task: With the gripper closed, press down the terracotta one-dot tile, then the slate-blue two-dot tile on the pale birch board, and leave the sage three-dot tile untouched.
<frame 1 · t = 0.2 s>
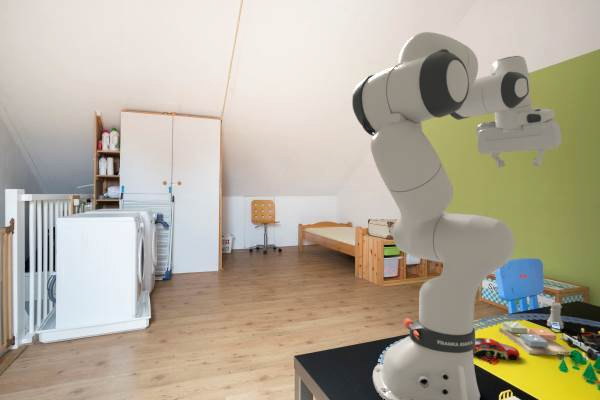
hand: (518, 166, 95), 52 cm above the table, tool tilted 20°, fingers open, 8 cm apart
sage tile: (514, 327, 101), point 3 cm above the table, slide at 0.0 cm
birch board: (532, 342, 97), on the table
slate tile: (533, 340, 92), point 3 cm above the table, slide at 0.0 cm
terracotta tile: (542, 334, 97), point 3 cm above the table, slide at 0.0 cm
rook chess piece: (555, 327, 108), on the table
race car: (491, 356, 89), on the table
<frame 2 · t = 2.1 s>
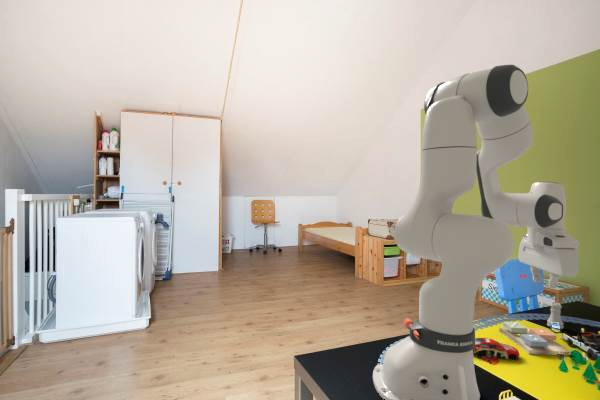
hand: (544, 284, 96), 17 cm above the table, tool pointing down, fingers open, 5 cm apart
nothing on the table moved.
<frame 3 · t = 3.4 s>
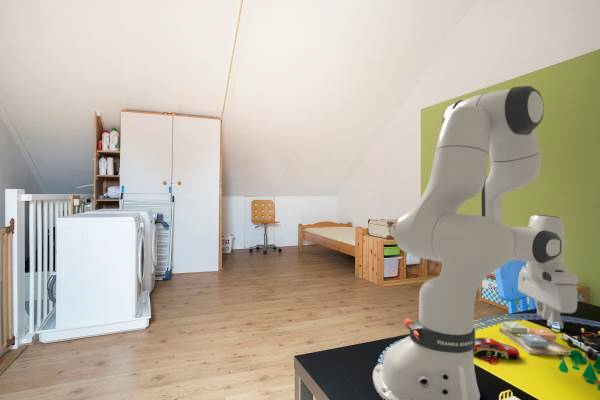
hand: (543, 317, 97), 8 cm above the table, tool pointing down, fingers closed
nothing on the table moved.
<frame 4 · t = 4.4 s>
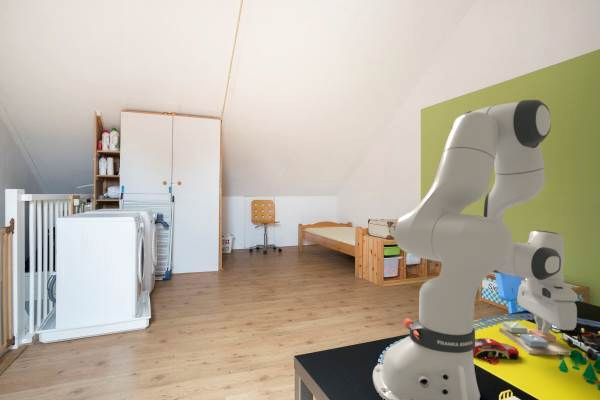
hand: (542, 332, 97), 3 cm above the table, tool pointing down, fingers closed, pressing on terracotta tile
terracotta tile: (542, 335, 97), point 2 cm above the table, slide at 0.4 cm, touching gripper
everything else where it was.
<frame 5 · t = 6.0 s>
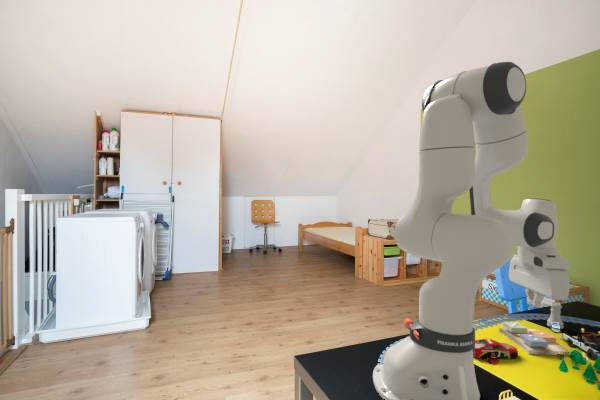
hand: (534, 305, 92), 12 cm above the table, tool pointing down, fingers closed
terracotta tile: (542, 336, 97), point 2 cm above the table, slide at 0.7 cm
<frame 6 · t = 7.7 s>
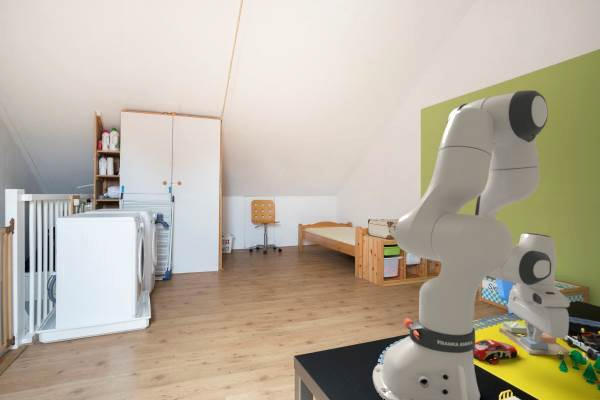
hand: (533, 339, 93), 3 cm above the table, tool pointing down, fingers closed, pressing on slate tile
slate tile: (533, 342, 92), point 2 cm above the table, slide at 0.7 cm, touching gripper
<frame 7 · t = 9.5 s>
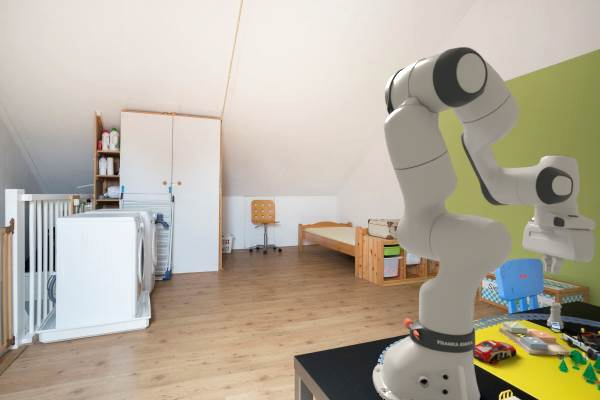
hand: (552, 273, 85), 23 cm above the table, tool pointing down, fingers closed
slate tile: (533, 342, 92), point 2 cm above the table, slide at 0.7 cm
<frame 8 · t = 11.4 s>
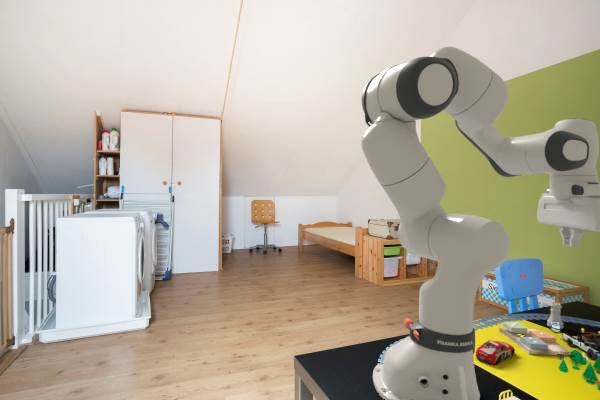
hand: (570, 246, 79), 31 cm above the table, tool pointing down, fingers closed
at the end: terracotta tile slide at 0.7 cm; slate tile slide at 0.7 cm; sage tile slide at 0.0 cm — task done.
